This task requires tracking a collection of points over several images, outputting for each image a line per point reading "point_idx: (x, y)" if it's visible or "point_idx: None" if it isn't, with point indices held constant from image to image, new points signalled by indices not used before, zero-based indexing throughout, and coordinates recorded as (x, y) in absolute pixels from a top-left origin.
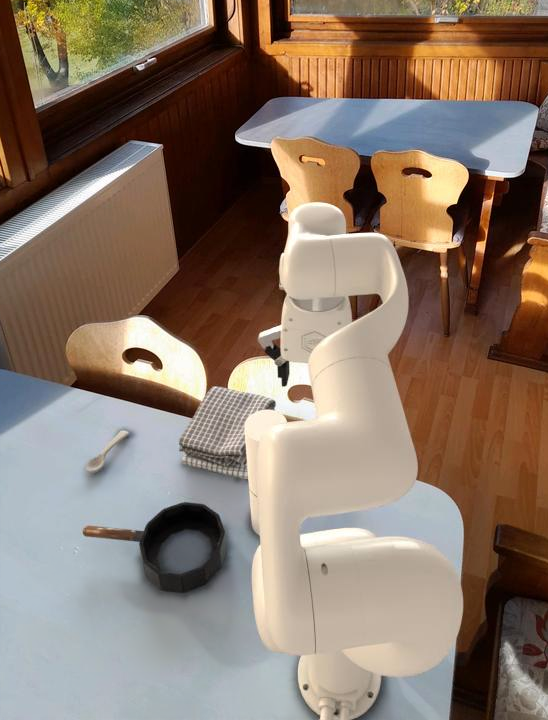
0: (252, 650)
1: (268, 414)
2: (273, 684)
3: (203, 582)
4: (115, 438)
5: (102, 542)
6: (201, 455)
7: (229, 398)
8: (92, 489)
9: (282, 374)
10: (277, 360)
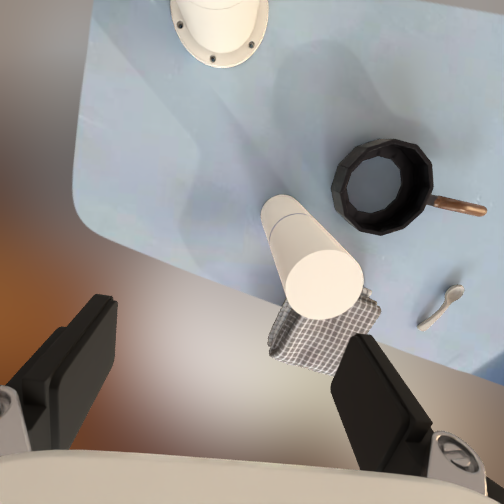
0: (314, 59)
1: (316, 309)
2: (294, 13)
3: (360, 145)
4: (433, 321)
5: None
6: None
7: (323, 360)
8: (456, 267)
9: (400, 381)
10: (465, 468)
